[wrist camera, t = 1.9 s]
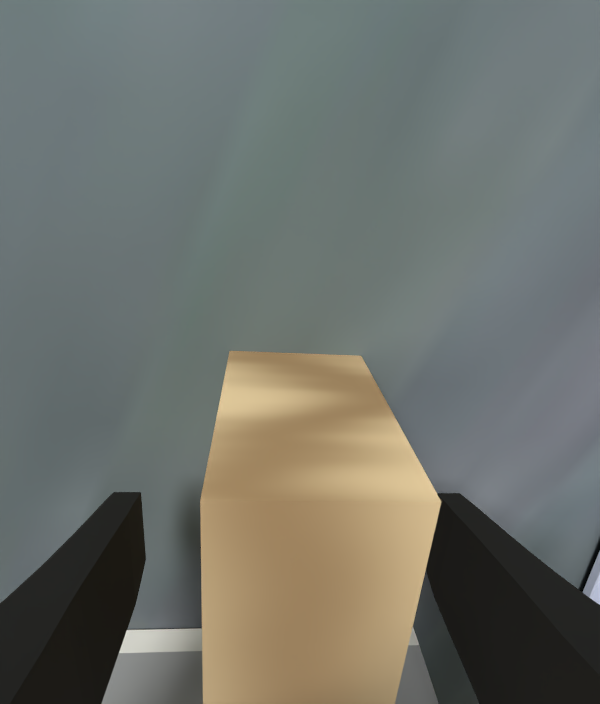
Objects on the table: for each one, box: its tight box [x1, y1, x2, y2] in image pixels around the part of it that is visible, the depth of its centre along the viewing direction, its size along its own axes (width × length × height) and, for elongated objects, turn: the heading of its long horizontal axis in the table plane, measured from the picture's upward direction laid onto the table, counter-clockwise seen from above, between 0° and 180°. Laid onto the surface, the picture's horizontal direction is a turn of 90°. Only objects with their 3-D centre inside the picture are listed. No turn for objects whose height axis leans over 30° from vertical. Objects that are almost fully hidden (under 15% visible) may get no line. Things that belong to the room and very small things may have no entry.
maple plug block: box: [200, 351, 441, 704], centre depth 11 cm, size 4×7×6 cm, turn 176°
